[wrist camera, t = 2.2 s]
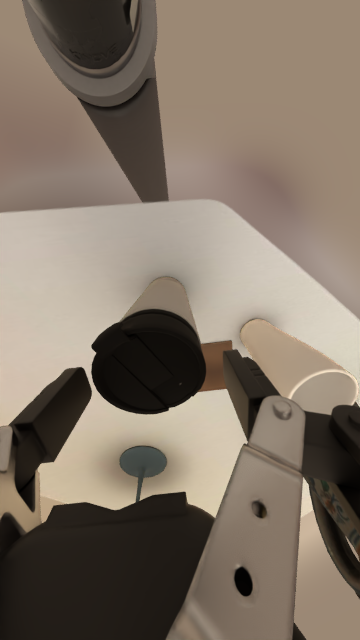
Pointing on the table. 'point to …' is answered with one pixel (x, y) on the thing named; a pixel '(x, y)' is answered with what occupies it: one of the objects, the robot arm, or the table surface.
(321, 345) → the table surface
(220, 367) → the coaster
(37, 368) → the table surface
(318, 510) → the beer stein
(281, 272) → the table surface
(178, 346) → the travel mug
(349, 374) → the drinking glass
